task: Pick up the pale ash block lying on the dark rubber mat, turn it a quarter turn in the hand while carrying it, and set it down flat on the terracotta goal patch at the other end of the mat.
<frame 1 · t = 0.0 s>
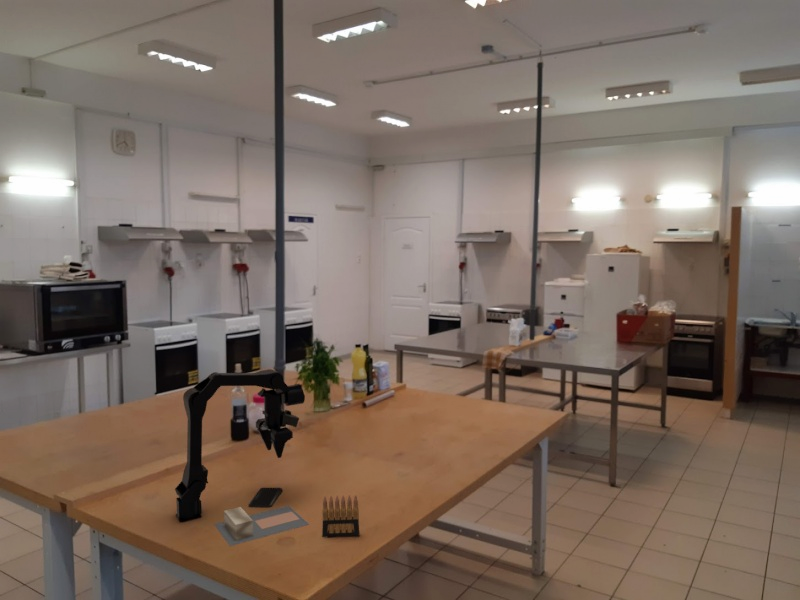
hand: (274, 453, 202), 15 cm above the table, fingers open, 9 cm apart
ash block: (238, 530, 179), resting on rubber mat
phone: (265, 500, 202), on the table
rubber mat: (261, 525, 182), on the table
ammunition clip: (340, 536, 176), on the table
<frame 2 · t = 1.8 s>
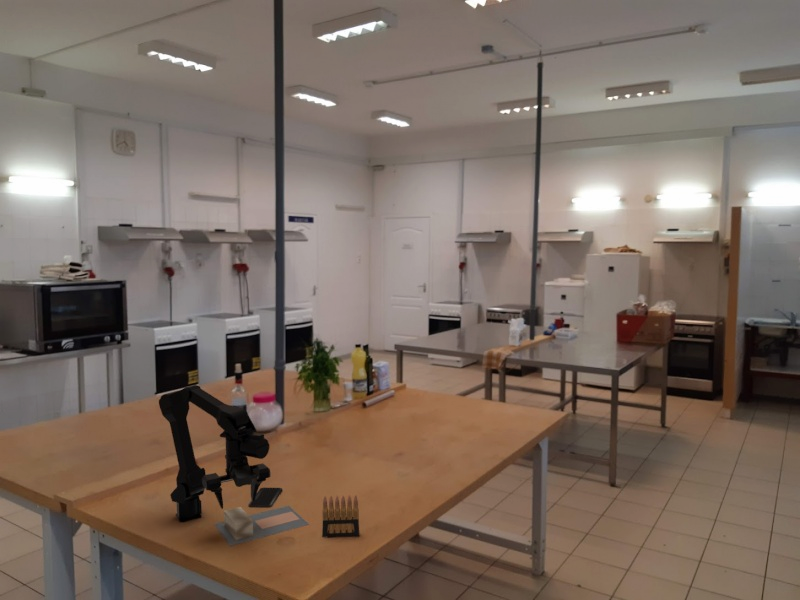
hand: (237, 504, 178), 8 cm above the table, fingers open, 9 cm apart
nothing on the table moved.
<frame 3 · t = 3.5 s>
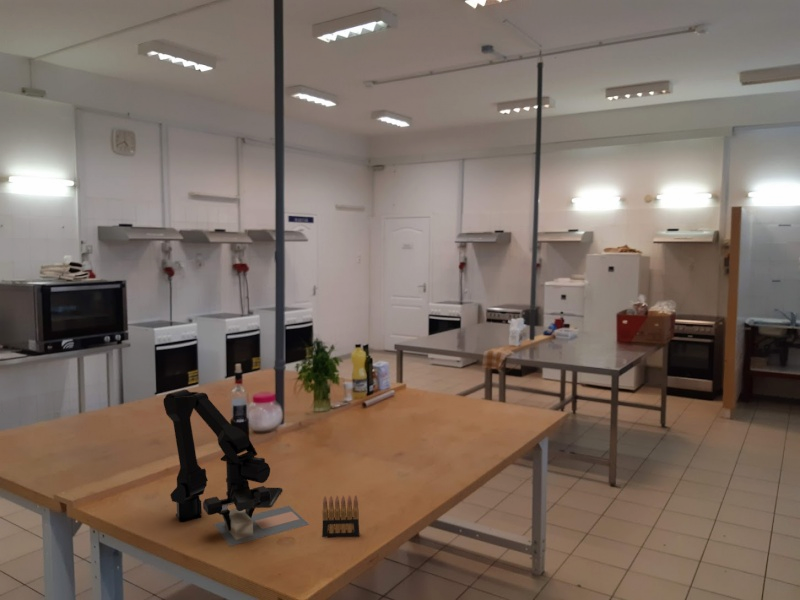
hand: (238, 527, 179), 1 cm above the table, fingers closed on ash block, 5 cm apart
ash block: (238, 530, 179), resting on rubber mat, touching gripper
everything else where it was.
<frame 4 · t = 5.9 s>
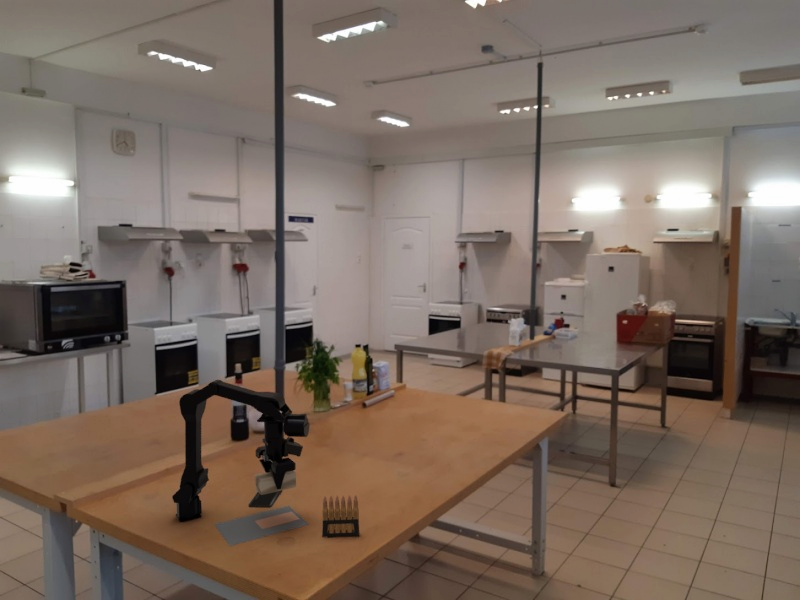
hand: (275, 486, 184), 11 cm above the table, fingers closed on ash block, 5 cm apart
ash block: (276, 488, 184), point 10 cm above the table, touching gripper
everything else where it was.
when the fingers open (2 cm above the table, at t = 8.4 s): ash block stays where it is, resting on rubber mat.
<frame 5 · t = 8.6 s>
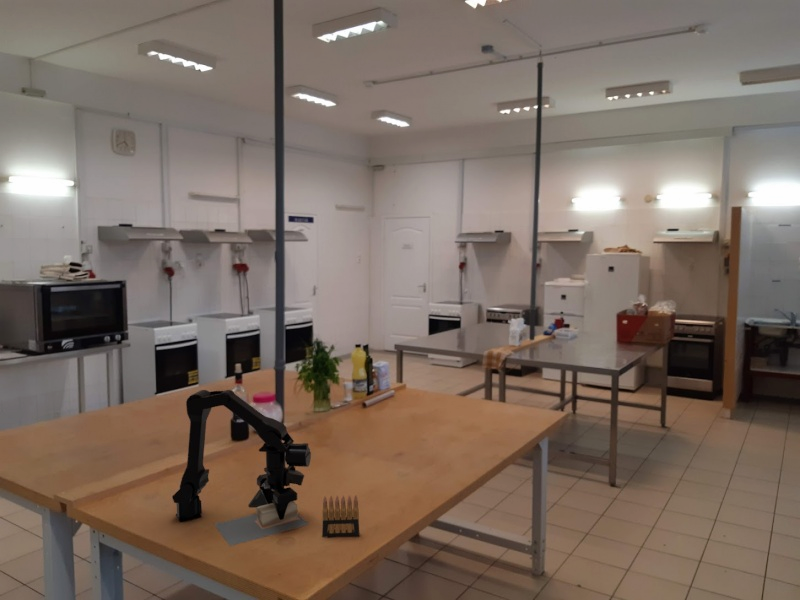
hand: (277, 514, 185), 2 cm above the table, fingers open, 7 cm apart
ash block: (277, 519, 185), resting on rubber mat
everything else where it was.
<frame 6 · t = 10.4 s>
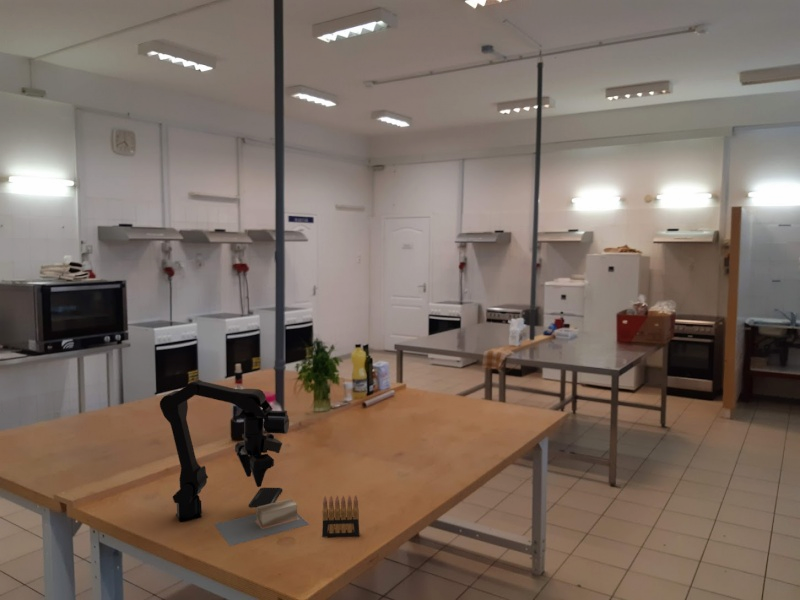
hand: (253, 481, 186), 12 cm above the table, fingers open, 9 cm apart
nothing on the table moved.
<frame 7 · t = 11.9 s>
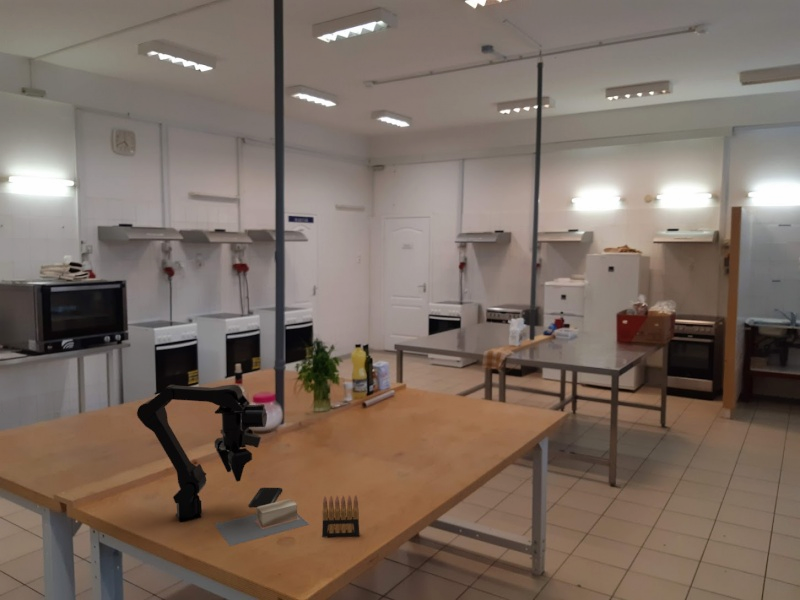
hand: (233, 476, 187), 13 cm above the table, fingers open, 9 cm apart
nothing on the table moved.
at the end: ash block 0.0 cm from the target spot on the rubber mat, point 0.4 cm above the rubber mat's base; ash block tilted 0°; the gripper is holding nothing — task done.
